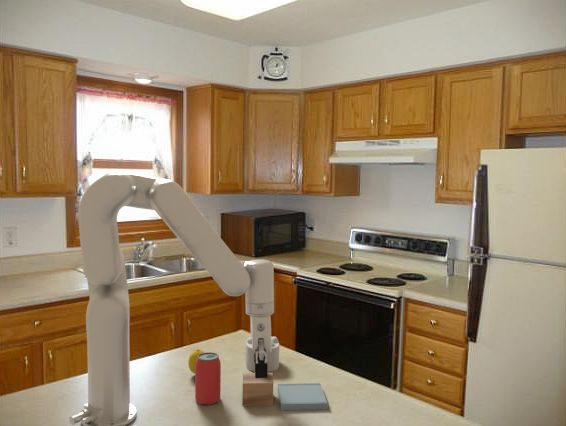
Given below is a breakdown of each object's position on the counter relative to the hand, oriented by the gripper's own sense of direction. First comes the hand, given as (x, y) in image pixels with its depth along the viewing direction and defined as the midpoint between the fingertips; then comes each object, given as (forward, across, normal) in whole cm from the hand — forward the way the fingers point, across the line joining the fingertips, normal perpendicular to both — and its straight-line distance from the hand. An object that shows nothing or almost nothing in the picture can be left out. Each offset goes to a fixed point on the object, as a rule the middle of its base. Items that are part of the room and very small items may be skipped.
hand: (260, 369), depth 129 cm
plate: (+8, -1, -11) cm, 14 cm away
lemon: (+8, +16, +18) cm, 25 cm away
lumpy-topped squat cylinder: (+8, +24, -1) cm, 26 cm away
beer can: (+8, 0, +14) cm, 16 cm away
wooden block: (+8, 0, +1) cm, 8 cm away
